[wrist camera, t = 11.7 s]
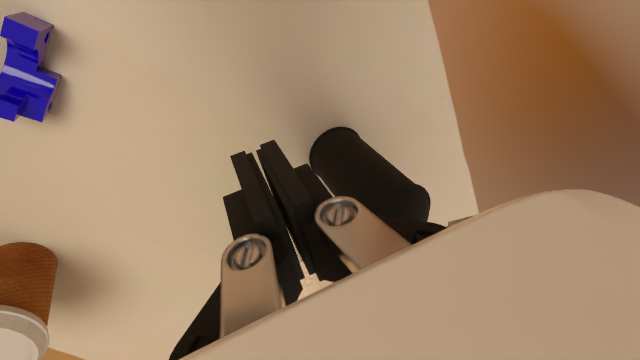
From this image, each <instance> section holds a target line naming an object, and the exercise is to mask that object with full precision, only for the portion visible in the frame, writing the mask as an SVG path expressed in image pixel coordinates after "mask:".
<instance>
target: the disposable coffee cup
mask: <svg viewBox="0 0 640 360" xmlns="http://www.w3.org/2000/svg"><path fill="white" fill-rule="evenodd" d="M56 268H57V259H56V257H55V255H54V254H53V253H52V252H51V251H49V250H48V249H46V248H44V247H42V246H39V245H36V244H32V243H11V244H7V245H4V246H1V247H0V360H38V359H40V358H41V357H42V356H43V355H44V353H45V352H46V350H47V348H48V345H49V334H48V329H47V327H46V326H47V324H48V322H47V321H48V316H49V311H50V306H51V299H52V293H53V287H54V280H55V275H56Z"/></svg>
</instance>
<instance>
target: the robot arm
mask: <svg viewBox="0 0 640 360" xmlns="http://www.w3.org/2000/svg"><path fill="white" fill-rule="evenodd" d="M260 147H261V149H259V150H256V152H257V155H258V157H259V160H260V163H261V165H262V168H263V171H264V173H265V176H266V179H267V181H268V184H269V187H270V189H271V191H270V189H269V187H268V185H267V183H266V181H265V179H264V177H263V175H262V173H261V171H260V168H259V166H258V164H257V162H256V160H255V158H254V156H253V154H252V152H251V153H248V154H246V153H245V151H243V152H240V153H237V154H235V155H232V156H230V157H231V160H232V163H233V165H234V168H235V171H236V174H237V177H238V179H239V182H240V185H241V188H242V190H239V191H237V192H234V193H232V194H229V195H227V196H224V197H223V200H224V204H225V208H226V212H227V216H228V220H229V223H230V227H231V231H232V235H233V239H234V241H233V242H232V243H231V244H230V245H229V246H228V247H227V248H226V249H225V251H224V253H223V255H222V259H221V282H220V284H219V285H218V287H217V288H216V290H215V291H214V292H213V294H212V295H211V297H210V298H209V300H208V301H207V302H206V304H205V305H204V307H203V308H202V309H201V311H200V312H199V314H198V315H197V317H196V318H195V319H194V321H193V322H192V324H191V325H190V326H189V328H188V329H187V331H186V332H185V334H184V335H183V336H182V338H181V339H180V341H179V342H178V343H177V345H176V346H175V348H174V350H173V352H172V353H171V355H170V358H169V360H640V207H638V206H636V205H633V204H631V203H629V202H626V201H624V200H621V199H618V198H616V197H613V196H610V195H606V194H603V193H599V192H595V191H590V190H578V189H577V190H576V189H569V190H557V191H548V192H540V193H536V194H532V195H528V196H524V197H520V198H517V199H514V200H511V201H508V202H506V203H503V204H500V205H498V206H496V207H493V208H491V209H489V210H486V211H484V212H482V213H479V214H477V215H474V216H471V217H467V218H463V219H459V220H455V221H451V222H448V226H447V227H444V226H442V225H439V224H435V223H430V222H422V221H415V220H407V219H400V218H392V217H385V216H377V215H375V214H374V213H372V212H371V211H370V210H369V209H367V208H366V207H365V206H364V205H362V204H361V203H360V202H359V201H357V200H356V199H354V198H351V197H347V196H338V197H332V196H331V194H330V193H329V192H328V190H327V189H326V188H325V186H324V185H323V184H322V182H321V181H320V180H319V178H318V177H317V176H316V174H315V173H314V172H313V170H312V169H311V168H310V166H309V165H308V164H304V165H301V166H299V167H297V168H294V169H293V167H292V166H291V164H290V163H289V161H288V160H287V158H286V157H285V155H284V154H283V152H282V151H281V149H280V148H279V146H278V145H277V143H276V142H275V140H272V141H269V142H266V143H264V144H261V145H260ZM271 192H272V193H271ZM272 194H273V195H272ZM286 227H287V228H286ZM287 229H288V230H287ZM288 231H289V233H290V235H291V237H292V240H293V242H294V244H295V246H296V248H297V250H298V252H299V254H300V256H301V258H302V260H303V262H304V265H305V267H306V269H307V271H308V273H309V275H312V274H314V273H316V275H317V277H318V279H319V281H320V282H321V281H323V280H325V281H330V282H333V284H330V285H328V286H326V287H324V288H322V289H320V290H318V291H316V292H314V293H312V294H310V295H308V296H306V297H304V298H302V299H300V300H298V298H299V296H300V294H301V291H302V290H303V287H302V285H301V282H300V280H302V279H304V278H305V276H304V273H303V270H302V268H301V265H300V262H299V260H298V257H297V254H296V252H295V249H294V246H293V244H292V241H291V238H290V236H289V233H288ZM297 300H298V301H297Z"/></svg>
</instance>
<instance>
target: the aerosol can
mask: <svg viewBox="0 0 640 360" xmlns="http://www.w3.org/2000/svg"><path fill="white" fill-rule="evenodd" d="M310 165H311V168H312V170H313V171H314V172H315V173H316V174H317V175H318V176H320V177H321V179H322V180H323V181H324V182H325V184H326V185H327V186H328V188H329V189H330V190H331V192H332V193H333V194H334V195H335V197H338V196H347V197H351V198H354V199H356V200H357V201H359V202H360V203H361V204H362V205H364V206H365V207H366V208H367V209H369V210H370V211H371V212H372V213H374V214H375V215H377V216H385V217H392V218H400V219H407V220H415V221H422V222H427V220H428V216H429V210H430V197H429V194H428V192H427V191H426V189H425V188H423V187H422V186H420V185H417V184H415V183H413V182H412V181H411V180H410V179H409V178H407V177H406V176H405V175H404V174H403V173H401V172H400V171H399V170H398V169H397V168H395V167H394V166H393V165H392V164H391V163H389V162H388V161H387V160H386V159H385V158H383V157H382V156H381V155H380V154H379V153H377V152H376V151H375V150H374V149H373V148H371V147H370V146H369V145H368V144H367V143H365V142H364V141H363V140H362V139H361V138H360V137H359V135H358V134H357V133H356V132H355V131H354V130H352V129H350V128H347V127H336V128H332V129H330V130H327V131H326V132H324V133H323V134H322V135H320V136H319V137H318V138H317V140H316V141H315V142H314V144H313V146H312V148H311V152H310Z"/></svg>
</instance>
